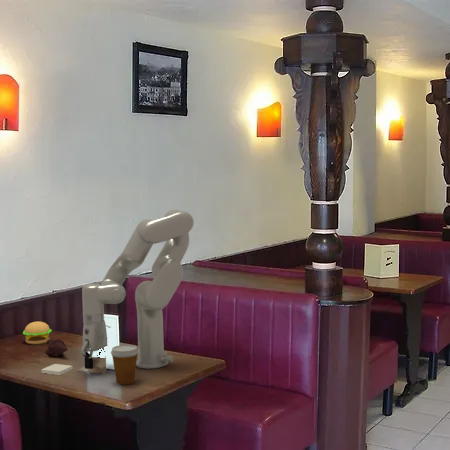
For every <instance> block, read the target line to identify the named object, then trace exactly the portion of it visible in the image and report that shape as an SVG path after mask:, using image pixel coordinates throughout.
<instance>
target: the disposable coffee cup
mask: <svg viewBox="0 0 450 450" xmlns="http://www.w3.org/2000/svg"><path fill="white" fill-rule="evenodd" d="M110 355H111V356H112V361H113V362H112V363H113V368H114V374H115V381H116V383H117V384H118V385H131V384H133V383H135V381H136V371H137V369H136V368H137V367H136V362H137V359H138V346H136V345H134V344H121V345H115V346H113V347H112V348H111V351H110Z"/></svg>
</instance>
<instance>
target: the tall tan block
mask: <svg viewBox="0 0 450 450" xmlns="http://www.w3.org/2000/svg"><path fill="white" fill-rule="evenodd" d="M92 358H93V369H86V368H85V366H84V367H80V368H79V369H77V373H86V374H87V372H88V373H89V372H91V374H93V373H94V374H99V373H103V374H105V373H106V372H107V358H106V357H105V358H100V357H97V356H92ZM105 371H106V372H105ZM104 372H105V373H104Z"/></svg>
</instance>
